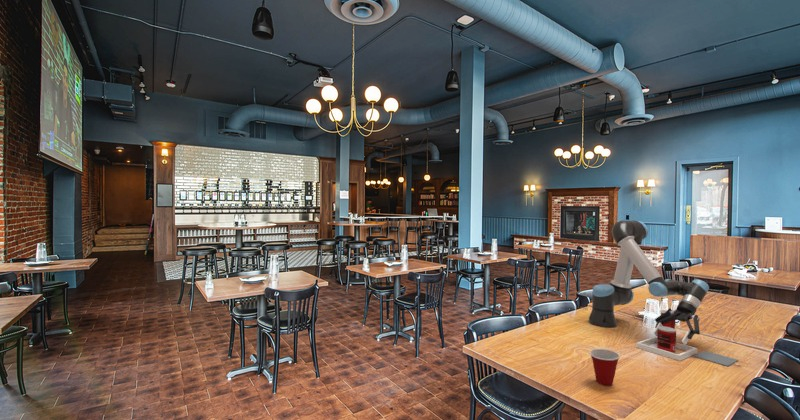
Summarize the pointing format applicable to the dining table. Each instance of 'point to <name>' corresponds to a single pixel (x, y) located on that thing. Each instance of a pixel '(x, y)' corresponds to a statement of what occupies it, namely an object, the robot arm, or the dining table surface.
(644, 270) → the robot arm
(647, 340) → the corral
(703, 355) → the mat
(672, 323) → the paper cup
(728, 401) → the dining table surface
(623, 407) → the dining table surface
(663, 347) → the canned food
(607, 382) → the plastic cup
